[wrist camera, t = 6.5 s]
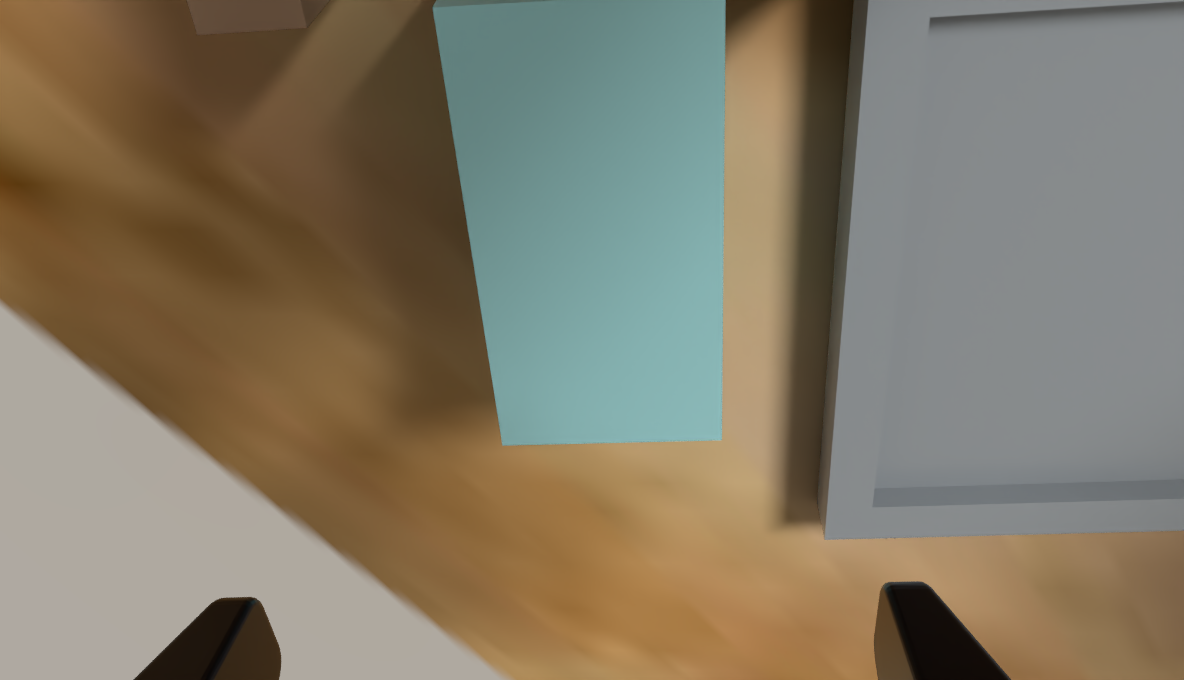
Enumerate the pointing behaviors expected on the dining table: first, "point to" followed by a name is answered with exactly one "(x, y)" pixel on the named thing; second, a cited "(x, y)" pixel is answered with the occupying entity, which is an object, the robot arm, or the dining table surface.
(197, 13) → the bay
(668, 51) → the block
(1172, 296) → the tray
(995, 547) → the dining table surface
